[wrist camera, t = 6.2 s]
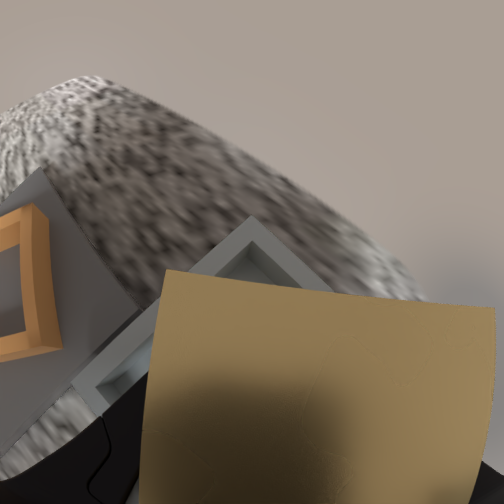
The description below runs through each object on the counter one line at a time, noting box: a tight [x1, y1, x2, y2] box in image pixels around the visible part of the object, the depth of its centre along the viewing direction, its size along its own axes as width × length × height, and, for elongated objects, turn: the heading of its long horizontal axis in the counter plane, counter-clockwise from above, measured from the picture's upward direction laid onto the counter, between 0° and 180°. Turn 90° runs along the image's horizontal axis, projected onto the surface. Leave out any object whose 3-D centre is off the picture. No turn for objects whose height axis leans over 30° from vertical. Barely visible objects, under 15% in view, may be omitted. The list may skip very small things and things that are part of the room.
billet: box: [139, 269, 496, 504], centre depth 7 cm, size 4×4×10 cm
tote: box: [70, 215, 336, 417], centre depth 11 cm, size 10×10×4 cm
